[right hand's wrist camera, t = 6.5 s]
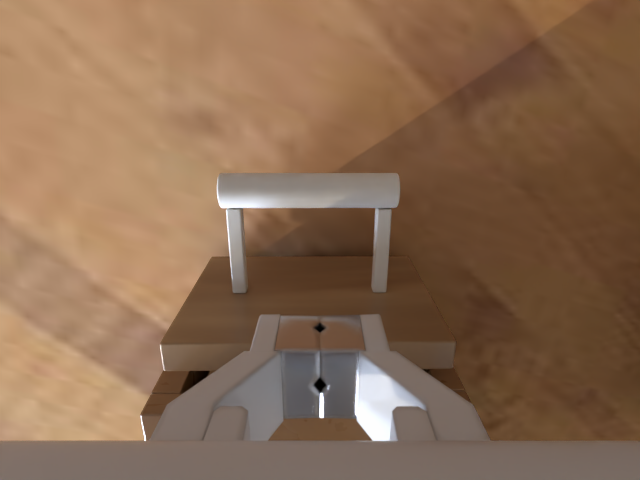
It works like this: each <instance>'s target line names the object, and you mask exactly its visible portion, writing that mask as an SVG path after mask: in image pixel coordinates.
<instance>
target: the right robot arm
mask: <svg viewBox="0 0 640 480" xmlns="http://www.w3.org/2000/svg"><path fill="white" fill-rule="evenodd" d="M296 418H343V419H357V422H358V423H359V424H360V425H361V427H362V428H363V429H364V430H365V432H366V433H367V434H368V435H369V437H370V438H371V439H372V440H373V441H268V440H269V438H270V437H271V436H272V435H273V433H274V432H275V431H276V430H277V428H278V427H279V426H280V425H281V423H282V422H283V419H296ZM0 480H640V441H491V440H490V438H489V436H488V434H487V432H486V430H485V428H484V426H483V424H482V421H481V419H480V417H479V415H478V413H477V411H476V409H475V407H474V405H473V404H471V403H470V402H468V401H467V400H465V399H464V398H463V397H461V396H460V395H458V394H457V393H455V392H454V391H452V390H451V389H450V388H448V387H447V386H445V385H444V384H442V383H441V382H440V381H438V380H437V379H435V378H434V377H432V376H431V375H429V374H428V373H427V372H425V371H424V370H422V369H421V368H419V367H418V366H417V365H415V364H414V363H412V362H411V361H409V360H408V359H407V358H405V357H404V356H402V355H401V354H399V353H398V352H396V351H390V349H389V345H388V341H387V338H386V334H385V330H384V327H383V323H382V320H381V316H380V315H379V314H366V315H322V316H320V315H283V314H281V315H280V314H261V315H260V316H259V319H258V323H257V327H256V330H255V334H254V338H253V341H252V345H251V349H250V351H244V352H242V353H241V354H239V355H238V356H236V357H235V358H233V359H232V360H231V361H229V362H228V363H226V364H225V365H223V366H222V367H220V368H219V369H218V370H216V371H215V372H213V373H212V374H210V375H209V376H207V377H206V378H205V379H203V380H202V381H200V382H199V383H197V384H196V385H194V386H193V387H192V388H190V389H189V390H187V391H186V392H184V393H183V394H182V395H180V396H179V397H177V398H176V399H174V400H173V401H171V402H170V403H169V404H167V406H166V408H165V410H164V412H163V414H162V416H161V418H160V420H159V422H158V424H157V426H156V428H155V430H154V432H153V434H152V436H151V438H150V440H149V441H0Z"/></svg>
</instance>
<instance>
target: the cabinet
mask: <svg viewBox="0 0 640 480" xmlns="http://www.w3.org/2000/svg"><path fill="white" fill-rule="evenodd" d="M422 370H424V371H425V372H427V373H428V374H429V375H431V376H432V377H434V378H435V379H437V380H438V381H440V382H441V383H442V384H444V385H445V386H447V387H448V388H450V389H451V390H452V391H454V392H455V393H457V394H458V395H460V396H461V397H463V398H464V399H465V400H467V401H468V402H470V403H471V401H470V399H469V397H468V395H467V393H466V392H465V389H464V387H463V385H462V383H461V381H460V379H459V377H458V375H457V373H456V371H455V369H454V367H453V368H452V369H422ZM208 373H209V371H164V370H163V372H162V374H161V376H160V378H159V379H158V381H157V383H156V385H155V387H154V389H153V391H152V394H151V395H150V397H149V399H148V401H147V403H146V405H145V407H144V408H143V410H142V412H141V415H140V417H141V422H142V428H143V433H144V438H145V441H149V440H150V438H151V436H152V434H153V432H154V430H155V428H156V426H157V424H158V422H159V420H160V418H161V416H162V414H163V412H164V410H165V408H166V406H167V404H169V403H170V402H171V401H173V400H174V399H176V398H177V397H179V396H180V395H182V394H183V393H184V392H186V391H187V390H189V389H190V388H192V387H193V386H194V385H196V384H197V383H199V382H200V381H202V380H203V379H205V378H206V377H207V376H208ZM471 404H472V403H471ZM268 441H373V440H372V439H371V438H370V437H369V435H368V434H367V433H366V432H365V430H364V429H363V428H362V427H361V425H360V424H359V423H358V422H357V419H343V418H296V419H283V422H282V423H281V425H280V426H279V427H278V428H277V430H276V431H275V432H274V433H273V435H272V436H271V437H270V438H269V440H268Z"/></svg>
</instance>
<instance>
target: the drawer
mask: <svg viewBox="0 0 640 480" xmlns="http://www.w3.org/2000/svg"><path fill="white" fill-rule="evenodd" d="M217 196H218V202H219V205H220V207H221V208H227V210H226V215H227V227H228V240H229V252H230V257H212V258H211V259H210V261H209V263H208V264H207V266H206V267H205V269H204V271H203V272H202V274H201V276H200V277H199V279H198V281H197V282H196V284H195V286H194V287H193V289H192V291H191V292H190V294H189V296H188V297H187V299H186V301H185V302H184V304H183V306H182V307H181V309H180V311H179V312H178V314H177V316H176V317H175V319H174V321H173V322H172V324H171V326H170V327H169V329H168V331H167V332H166V334H165V336H164V337H163V339H162V341H161V342H160V349H161V355H162V362H163V368H164V371H209V373H208V376H209V375H210V374H212V373H213V372H215V371H216V370H218V369H219V368H220V367H222V366H223V365H225V364H226V363H228V362H229V361H231V360H232V359H233V358H235V357H236V356H238V355H239V354H241V353H242V352H244V351H250V349H251V345H252V341H253V338H254V334H255V330H256V327H257V323H258V319H259V316H260V315H261V314H280V315H281V314H283V315H320V316H322V315H366V314H379V315H380V316H381V320H382V323H383V327H384V330H385V334H386V338H387V341H388V345H389V349H390V351H396V352H398V353H399V354H401V355H402V356H404V357H405V358H407V359H408V360H409V361H411V362H412V363H414V364H415V365H417V366H418V367H419V368H421V369H452V368H453V363H454V356H455V349H456V340H455V338H454V336H453V335H452V333H451V331H450V329H449V328H448V326H447V324H446V322H445V321H444V319H443V317H442V315H441V313H440V312H439V310H438V308H437V306H436V305H435V303H434V301H433V299H432V298H431V296H430V294H429V292H428V290H427V289H426V287H425V285H424V283H423V282H422V280H421V278H420V276H419V275H418V273H417V271H416V269H415V268H414V266H413V264H412V262H411V260H410V259H409V257H408V256H389V245H390V230H391V215H392V210H391V208H396V207H397V206H398V204H399V199H400V179H399V175H398V174H397V173H220V174H219V177H218V181H217ZM243 208H375V226H374V245H373V256H293V257H246V248H245V232H244V217H243Z"/></svg>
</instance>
